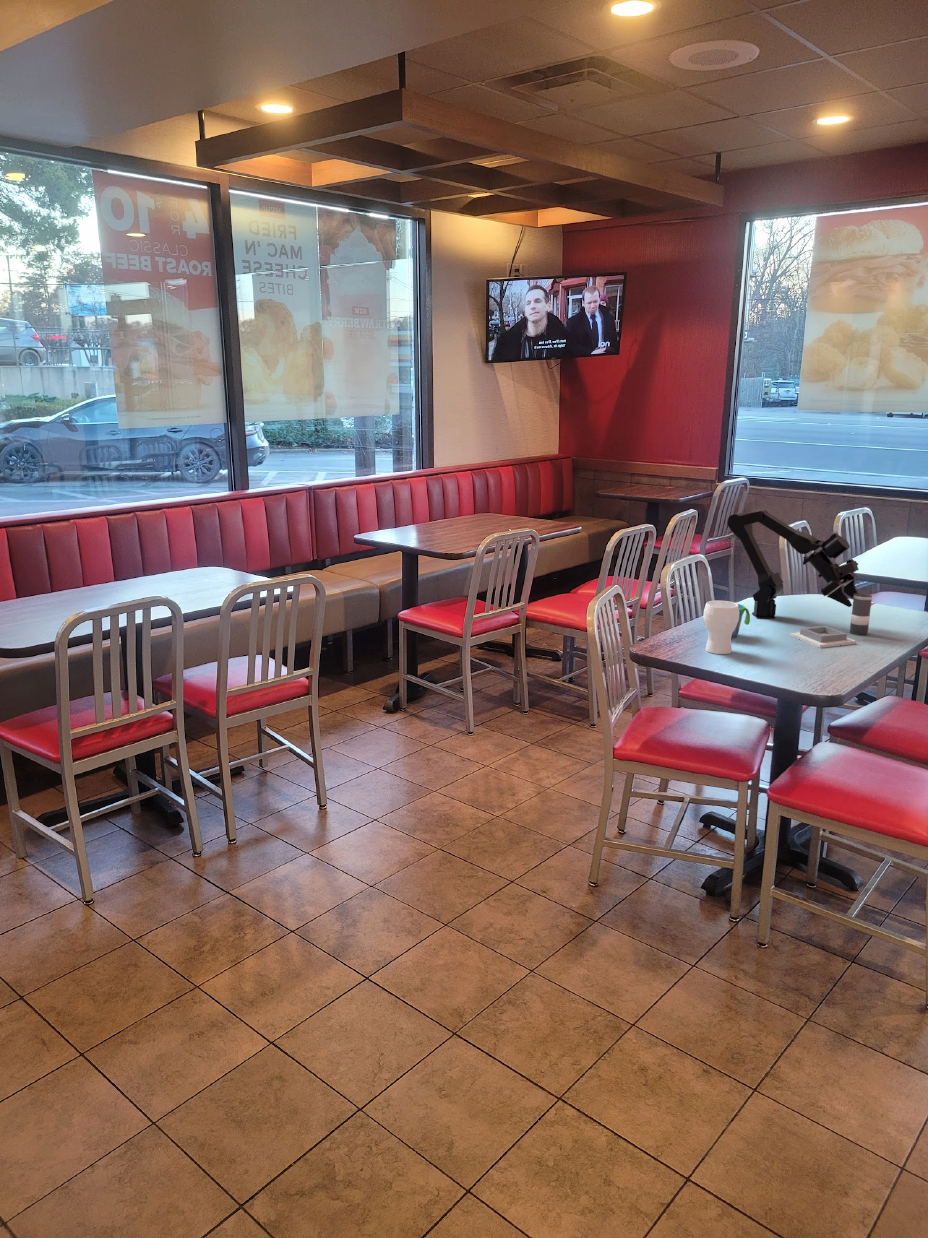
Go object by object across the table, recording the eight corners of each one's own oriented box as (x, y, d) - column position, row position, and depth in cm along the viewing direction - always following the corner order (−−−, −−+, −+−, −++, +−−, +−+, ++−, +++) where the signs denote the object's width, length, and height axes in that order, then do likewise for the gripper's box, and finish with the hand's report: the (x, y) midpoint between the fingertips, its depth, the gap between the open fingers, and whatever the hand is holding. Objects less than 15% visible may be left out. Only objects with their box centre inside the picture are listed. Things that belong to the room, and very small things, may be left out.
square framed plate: (790, 636, 295) (791, 627, 295) (825, 632, 300) (826, 623, 299) (819, 648, 283) (820, 638, 282) (855, 643, 287) (856, 634, 286)
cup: (712, 657, 274) (715, 609, 270) (694, 647, 283) (697, 601, 279) (742, 654, 276) (747, 607, 272) (724, 644, 286) (728, 598, 282)
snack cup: (741, 630, 302) (743, 600, 300) (755, 639, 292) (758, 608, 290) (697, 631, 300) (699, 602, 298) (709, 640, 290) (711, 610, 288)
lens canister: (853, 635, 296) (858, 597, 293) (846, 630, 302) (850, 593, 298) (870, 635, 296) (875, 597, 293) (863, 630, 302) (867, 593, 298)
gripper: (834, 556, 290) (866, 594, 286) (853, 548, 303) (884, 584, 299) (807, 577, 297) (838, 614, 293) (827, 568, 310) (857, 603, 306)
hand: (855, 603), depth 298 cm, fingers open, 9 cm apart
